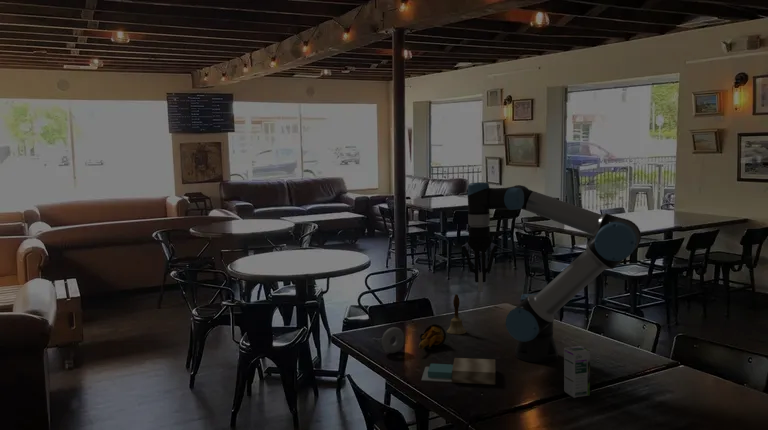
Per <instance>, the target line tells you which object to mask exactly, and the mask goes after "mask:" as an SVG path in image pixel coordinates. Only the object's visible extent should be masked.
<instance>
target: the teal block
mask: <svg viewBox="0 0 768 430" xmlns="http://www.w3.org/2000/svg"><path fill="white" fill-rule="evenodd" d="M428 367H429V369H428V377H434V378H452V368H453V364H450V363H449V364H446V363H430V364H429V366H428Z"/></svg>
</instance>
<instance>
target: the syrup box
mask: <svg viewBox="0 0 768 430" xmlns="http://www.w3.org/2000/svg"><path fill="white" fill-rule="evenodd" d="M563 365H564V366H563V369H564V370H563V373H564V374H563V375H564V376H563V382H564V383H563V384H564V385H563V388H564V389H563V390H564V393H566V394H567V395H569V396H570V397H572V398H574V399H575V398H582V397H589V396H591V395H590V394H591V350H590V349H588V348H586V346H585V347H584V346H582V345H578V346H576V345H575V346H567V347H564V348H563Z"/></svg>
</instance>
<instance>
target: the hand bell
mask: <svg viewBox="0 0 768 430" xmlns="http://www.w3.org/2000/svg"><path fill="white" fill-rule="evenodd" d="M460 301H461V300H460V296H459V294H458V293H457V294H454V297H453V301H452V302H453V303H452V304H453V307H454V308H453V309H454V314H453V315H454V317H453V318H451V320H450V325H449V328H448V329H446V334H447V333H448V334H449V335H464V334H466V333H467V330H466V329H465V327H464V326H463V319H462V318H460V317H459V308H460Z"/></svg>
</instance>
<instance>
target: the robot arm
mask: <svg viewBox="0 0 768 430" xmlns="http://www.w3.org/2000/svg"><path fill="white" fill-rule="evenodd" d="M466 197H467V209H468V210H467V211H468V214H467V217H468V218H467V220H468V226H469V227H468V239H467V242H466V243H465V244H463V245H461V249H462V251H463V252H464V255H465V258H466V261H467V265H468V268H469V272H471V273H473V274H474V282H475V283H477V284H478V287H477V289H478V293H483V292H484V289H483V288H484V285H483V284H484V283H486V282H487V279H486V278H487V276H486V275H487V273H489V272H491V271H492V267H493V266H492V265H493V262H494V259H495V252H496V251H497V249H498V248H499V247H498V246H499V245H497V244H495V243H493V242H492V240H491V228H490V224H491V221H490V220H491V219H490V210H508V211H514V210H520V209H521V210H524V211H526V212H530V213H532V214H535V215H537V216H540V217H543V218H546V219H549V220H551V221H553V222H557V223H559V224H562V225H565V226H566V227H567V226H568V227H570V228H573V229H576V230H579V231H580V232H584V233H586V234H588V235H591V236H592V237H591V238H590V239H589V240H588V241H587V242H586V245H585V246H586V247H585V250H584V251H583V252H582V253H581V254H579V255H578V257H577V258H575V259H574V260H573V261H572V262H571V263H570V264H569V265H568V266H566V267H565V268H564V269H563V270H562V271H561V272H560V273H558V274H557V276H556V277H554V279H552V280H551V281H550V282H549V283H547V284H546V285H545V286H544V287H543V288H542V289H541V290H540V291H539V292H538V293H522V294H521V296H520V303H519V304H518V305H517V306H516V307H515V308H513V309H511V310H510V311H509V312H508V313H507V315H506V318H505V327H506V330H507V333H508V334H509V335H510V336H511V338H513V339H514V340H516V341H517V344H516V347H515V356H516V358H518V359H519V360H522V361H525V362H529V363H542V364H543V363H550V362H554V361H556V360H557V359H558V356H559V355H558V353H559V351H558V349H557V344H556V342H555V338H554V320H555V314H556V313H558V311H559V310H560V309H562V308H563V307H564V306H565V305H566V304H567V303H569V301H571V300H572V299H573V298H574V297H575V296H577V295H578V294H579V293H581V291H582V290H584V289H585V287H586V286H588V285H589V284H590V283H591V282H592V281H594V280H595V279H596V278H597V277H599V275H601V273H602V272H604V271H605V270H613V269H614V268H616V267H617V266H618V265H620V264H621V263H622V262H623V261H624V260H625V259H627V258H629V257H630V256H631V255H632V254H633V253H634V251H635V250H636V249H637V248H638V247H639V246H640V243H641V238H642V233H641V230H640V228H639V226H638V225H637V223H635V222H634V221H632V220H630V219H628V218H627V219H626V218H624V217H619V216H616V215H612V214H610V213H603V214H601V213H599V212H598V213H597V212H594V211H593V210H592V211H591V210H589V209H586V208H583V207H580V206H578V205H575V204H571V203H569V202H566V201H562V200H560V199H557V198H555V197H551V196H548V195H546V194H543V193H540V192H537V191H535V190H531V189H529V188H528V187H526V186H525V185H520V184H519V185H517V184H516V185H513V186H507V187H494V188H493V187H490V184H489V183H488V182H485V181H484V182H481V181H480V182H471V183H469V184H468V185H467V196H466ZM469 247H470V249H471V250H472V251H473V253H474V254H473V255H474V257H473V259H474V267H473V264H472V260H471V256H470V253H469ZM489 248H490V254H489V259H488V262H487V266H486V252H487V250H488V249H489ZM479 252H480V253H481V272H479Z"/></svg>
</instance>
